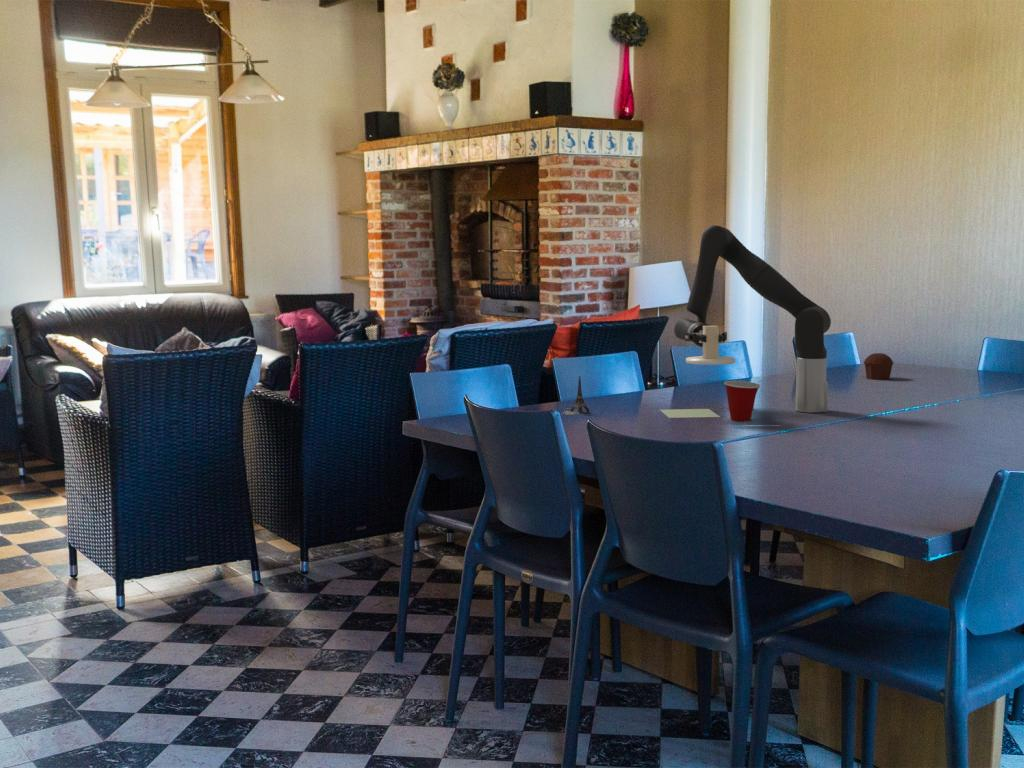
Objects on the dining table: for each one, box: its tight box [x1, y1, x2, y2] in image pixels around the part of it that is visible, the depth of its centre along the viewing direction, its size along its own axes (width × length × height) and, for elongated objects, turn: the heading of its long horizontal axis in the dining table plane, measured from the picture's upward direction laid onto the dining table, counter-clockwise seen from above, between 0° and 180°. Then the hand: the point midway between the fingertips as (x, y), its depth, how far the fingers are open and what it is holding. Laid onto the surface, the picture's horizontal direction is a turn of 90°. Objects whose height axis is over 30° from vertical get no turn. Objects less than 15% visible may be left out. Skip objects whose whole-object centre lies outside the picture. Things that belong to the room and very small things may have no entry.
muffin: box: [863, 352, 894, 381], centre depth 410 cm, size 12×11×10 cm
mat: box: [659, 408, 721, 419], centre depth 326 cm, size 16×16×1 cm
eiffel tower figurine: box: [562, 374, 591, 416], centre depth 334 cm, size 15×10×13 cm
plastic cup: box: [723, 380, 761, 423], centre depth 312 cm, size 11×11×12 cm
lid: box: [685, 325, 736, 366], centre depth 318 cm, size 15×15×11 cm
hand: (712, 338), depth 315 cm, fingers closed on lid, 4 cm apart
